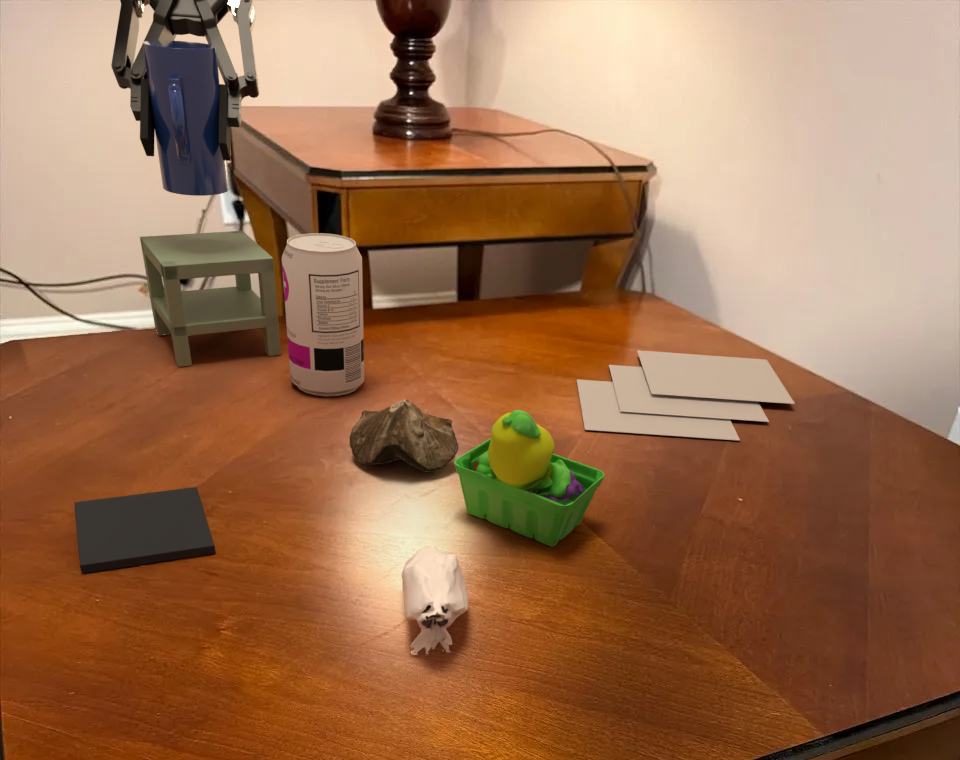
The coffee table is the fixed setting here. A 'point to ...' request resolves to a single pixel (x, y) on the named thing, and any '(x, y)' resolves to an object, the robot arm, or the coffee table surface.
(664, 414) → the paper stack
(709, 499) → the coffee table surface
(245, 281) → the side table
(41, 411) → the coffee table surface
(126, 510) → the mat
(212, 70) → the jug
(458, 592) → the white crumpled pouch
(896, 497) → the coffee table surface
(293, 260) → the supplement can
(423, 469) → the fossilized seashell
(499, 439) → the fruit basket
